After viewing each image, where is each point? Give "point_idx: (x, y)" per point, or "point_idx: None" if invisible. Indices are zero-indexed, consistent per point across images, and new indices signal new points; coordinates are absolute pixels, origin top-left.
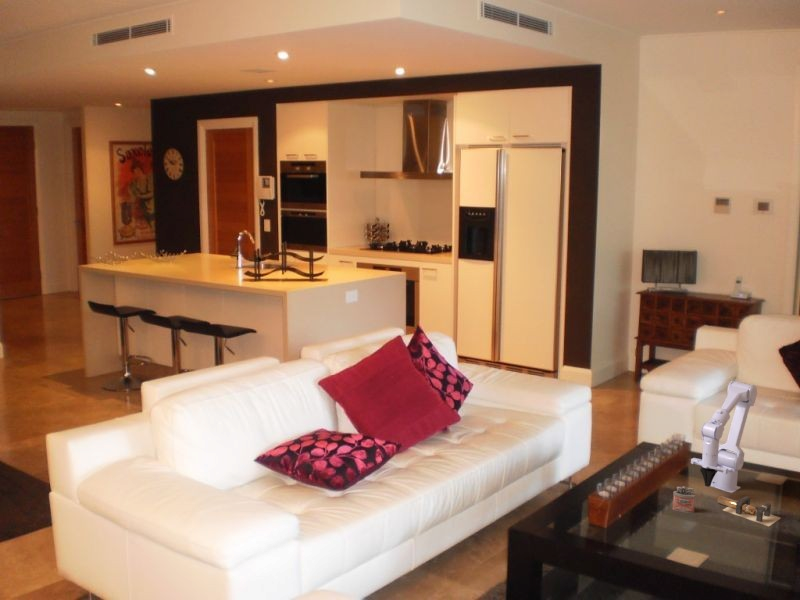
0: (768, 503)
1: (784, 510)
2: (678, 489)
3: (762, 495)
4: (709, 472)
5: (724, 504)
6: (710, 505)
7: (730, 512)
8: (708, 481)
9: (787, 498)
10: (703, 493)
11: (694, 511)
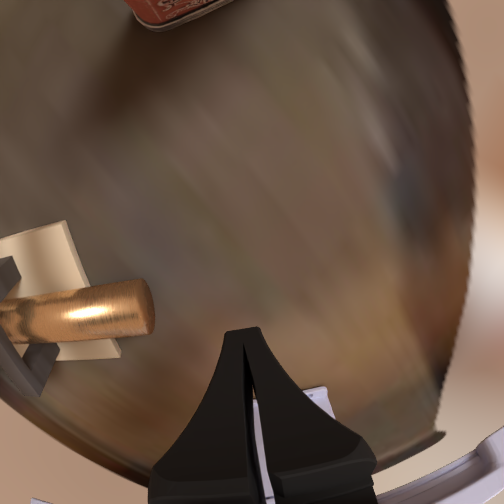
0: None
1: (31, 411)
2: None
3: (149, 449)
4: (178, 485)
5: (96, 286)
6: (164, 227)
7: (24, 239)
8: (219, 371)
9: (106, 462)
10: (307, 320)
11: (136, 18)
